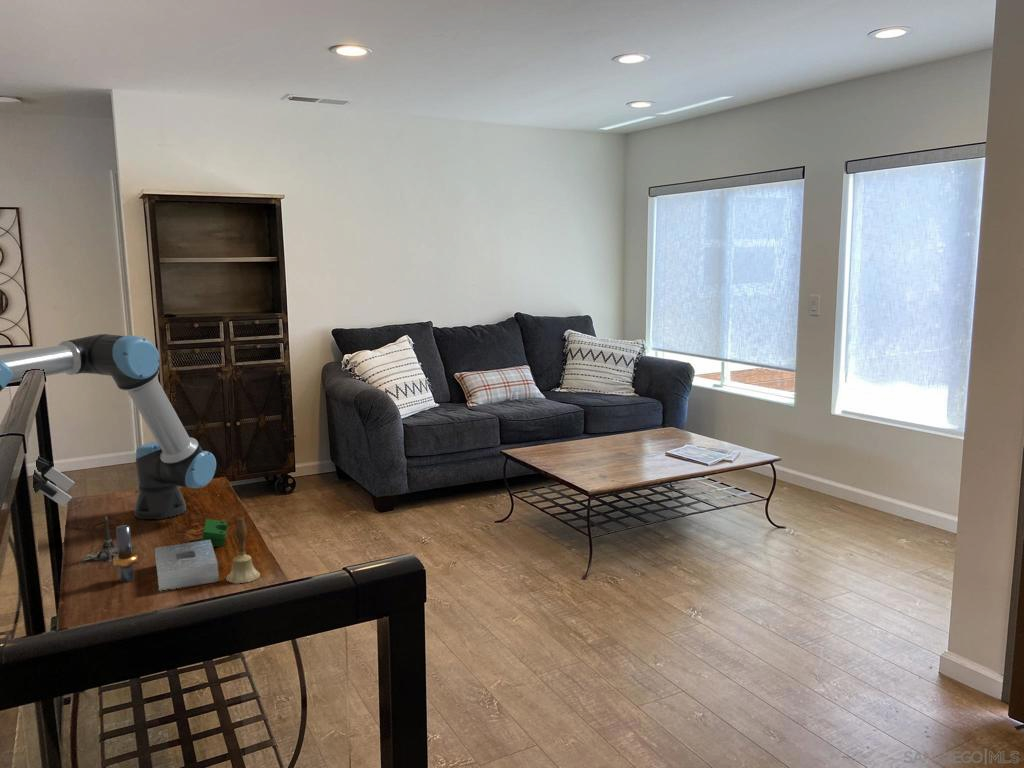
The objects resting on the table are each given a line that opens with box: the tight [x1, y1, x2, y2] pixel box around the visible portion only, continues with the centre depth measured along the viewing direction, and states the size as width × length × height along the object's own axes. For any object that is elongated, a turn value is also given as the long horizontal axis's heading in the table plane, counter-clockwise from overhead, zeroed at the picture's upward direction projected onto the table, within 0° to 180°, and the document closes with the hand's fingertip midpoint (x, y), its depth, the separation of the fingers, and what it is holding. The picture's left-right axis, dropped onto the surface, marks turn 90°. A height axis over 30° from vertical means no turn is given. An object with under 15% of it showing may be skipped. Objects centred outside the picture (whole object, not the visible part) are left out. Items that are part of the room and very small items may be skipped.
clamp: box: [201, 518, 228, 547], centre depth 225 cm, size 12×6×9 cm, turn 12°
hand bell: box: [226, 517, 261, 585], centre depth 201 cm, size 8×8×16 cm
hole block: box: [154, 540, 220, 592], centre depth 204 cm, size 18×14×5 cm
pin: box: [113, 524, 139, 583], centre depth 199 cm, size 6×6×14 cm
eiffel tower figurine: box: [78, 512, 139, 568], centre depth 214 cm, size 15×10×13 cm
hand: (69, 494), depth 191 cm, fingers open, 13 cm apart
